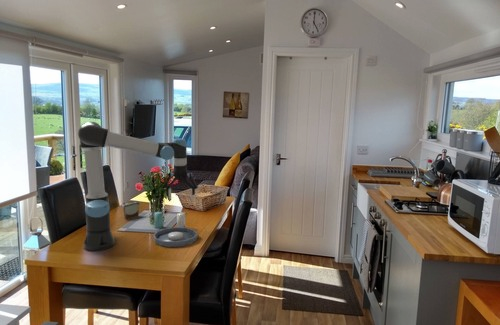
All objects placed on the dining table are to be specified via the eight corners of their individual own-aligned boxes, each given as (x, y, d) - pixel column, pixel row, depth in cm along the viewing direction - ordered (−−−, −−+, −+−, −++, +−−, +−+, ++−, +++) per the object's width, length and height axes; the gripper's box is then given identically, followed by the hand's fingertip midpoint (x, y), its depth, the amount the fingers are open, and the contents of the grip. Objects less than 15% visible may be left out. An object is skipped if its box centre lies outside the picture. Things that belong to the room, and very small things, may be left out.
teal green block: (161, 228, 229) (161, 214, 228) (153, 228, 229) (153, 214, 228) (164, 226, 234) (163, 212, 232) (156, 225, 234) (156, 211, 233)
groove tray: (190, 248, 200) (190, 243, 199) (147, 245, 202) (147, 240, 202) (201, 232, 223) (201, 228, 222) (162, 230, 225) (162, 226, 225)
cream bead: (184, 229, 228) (183, 215, 226) (176, 229, 228) (175, 215, 227) (186, 227, 232) (186, 213, 231) (178, 226, 233) (178, 212, 232)
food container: (135, 213, 258) (134, 199, 256) (140, 215, 254) (139, 201, 252) (118, 218, 248) (118, 203, 247) (124, 220, 244) (123, 204, 243)
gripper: (202, 164, 226) (202, 198, 230) (162, 163, 229) (162, 197, 232) (199, 166, 219) (199, 202, 222) (157, 165, 222) (158, 200, 225)
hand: (181, 199), depth 227 cm, fingers open, 13 cm apart
